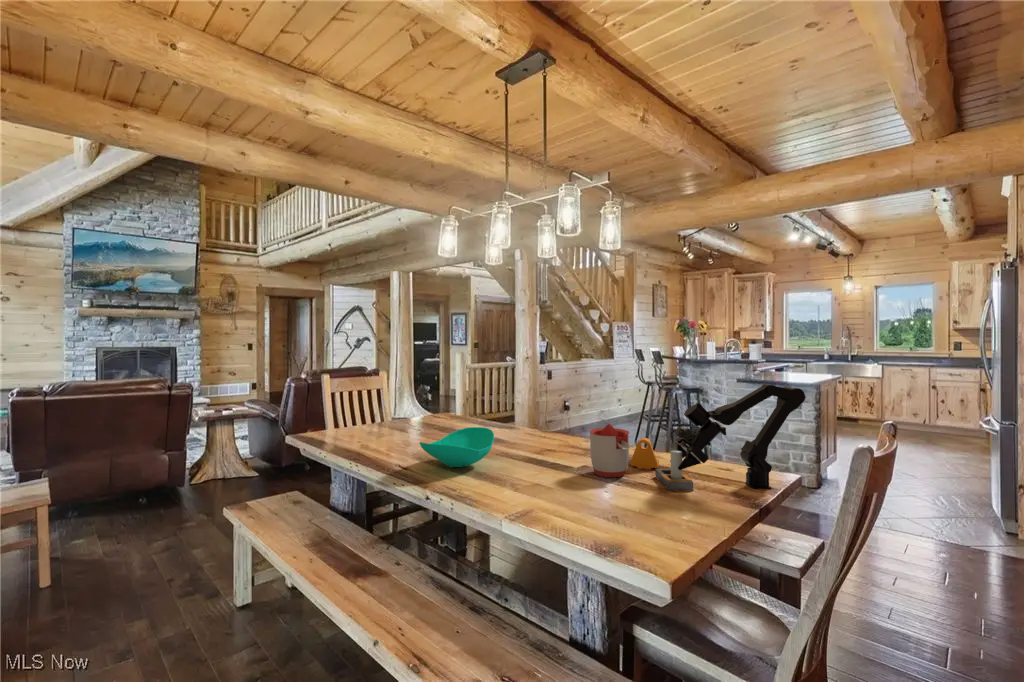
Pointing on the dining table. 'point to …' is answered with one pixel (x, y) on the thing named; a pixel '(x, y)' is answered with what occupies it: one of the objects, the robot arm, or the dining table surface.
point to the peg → (676, 464)
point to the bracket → (644, 455)
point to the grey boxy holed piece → (673, 480)
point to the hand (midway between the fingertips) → (674, 465)
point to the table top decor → (461, 446)
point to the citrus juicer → (609, 451)
